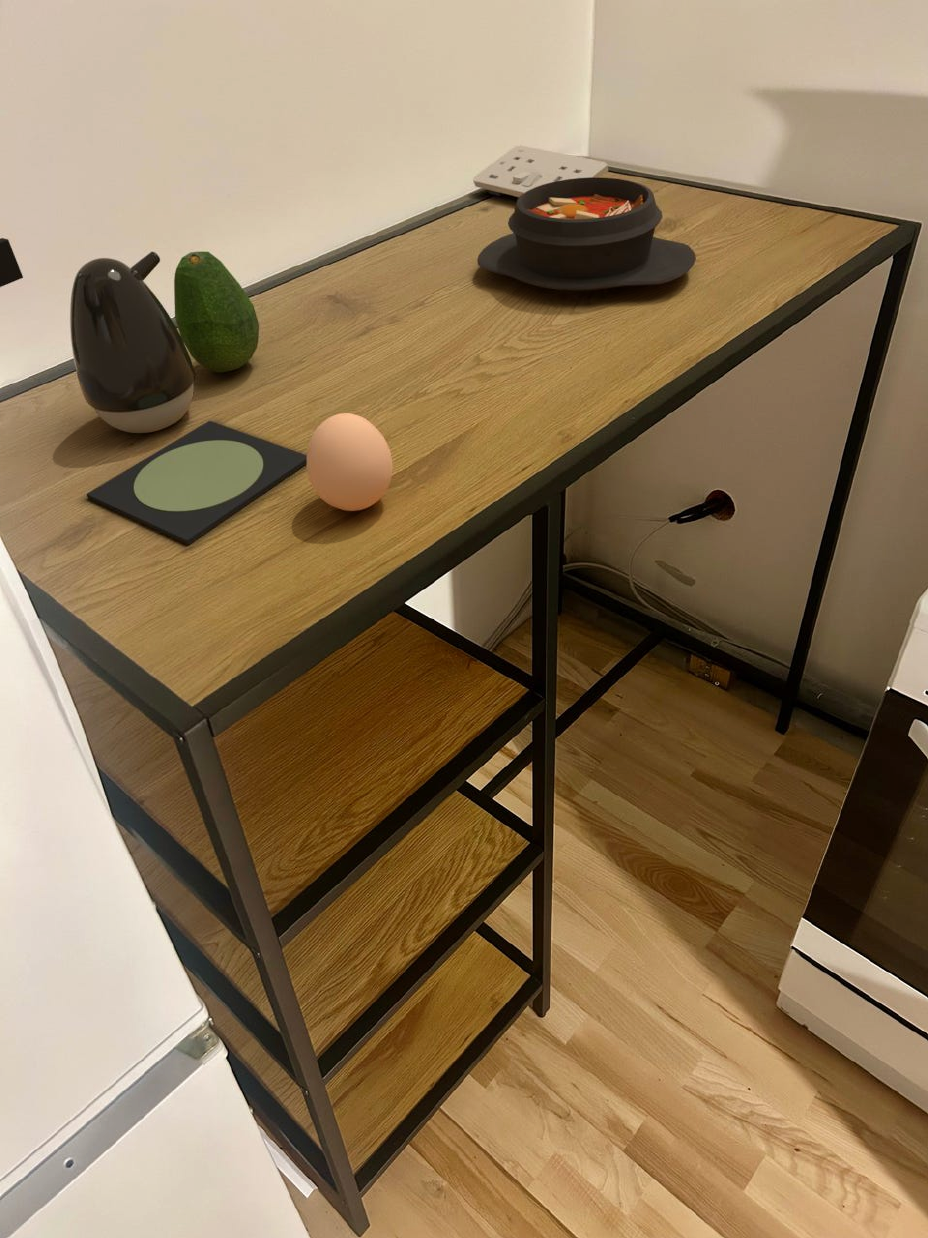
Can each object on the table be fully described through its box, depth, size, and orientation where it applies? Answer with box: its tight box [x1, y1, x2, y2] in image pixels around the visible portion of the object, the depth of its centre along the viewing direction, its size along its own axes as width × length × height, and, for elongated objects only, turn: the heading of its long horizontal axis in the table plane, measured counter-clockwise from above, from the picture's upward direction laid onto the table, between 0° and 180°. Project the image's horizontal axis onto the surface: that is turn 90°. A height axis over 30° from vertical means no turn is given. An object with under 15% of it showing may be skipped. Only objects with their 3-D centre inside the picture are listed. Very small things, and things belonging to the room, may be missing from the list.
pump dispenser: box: [69, 251, 196, 434], centre depth 83 cm, size 10×10×15 cm
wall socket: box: [472, 144, 609, 199], centre depth 127 cm, size 18×15×4 cm
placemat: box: [86, 420, 307, 546], centre depth 79 cm, size 13×14×1 cm
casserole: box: [476, 177, 697, 292], centre depth 104 cm, size 25×19×8 cm
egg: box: [306, 412, 394, 512], centre depth 72 cm, size 7×7×8 cm
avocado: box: [173, 251, 260, 373], centre depth 91 cm, size 8×8×12 cm
